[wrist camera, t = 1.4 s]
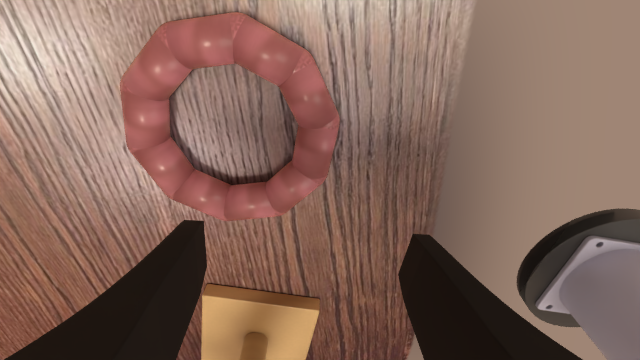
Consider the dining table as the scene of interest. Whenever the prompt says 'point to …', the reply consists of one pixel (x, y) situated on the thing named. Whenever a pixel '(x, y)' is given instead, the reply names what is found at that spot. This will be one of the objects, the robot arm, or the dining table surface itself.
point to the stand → (256, 324)
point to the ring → (258, 57)
